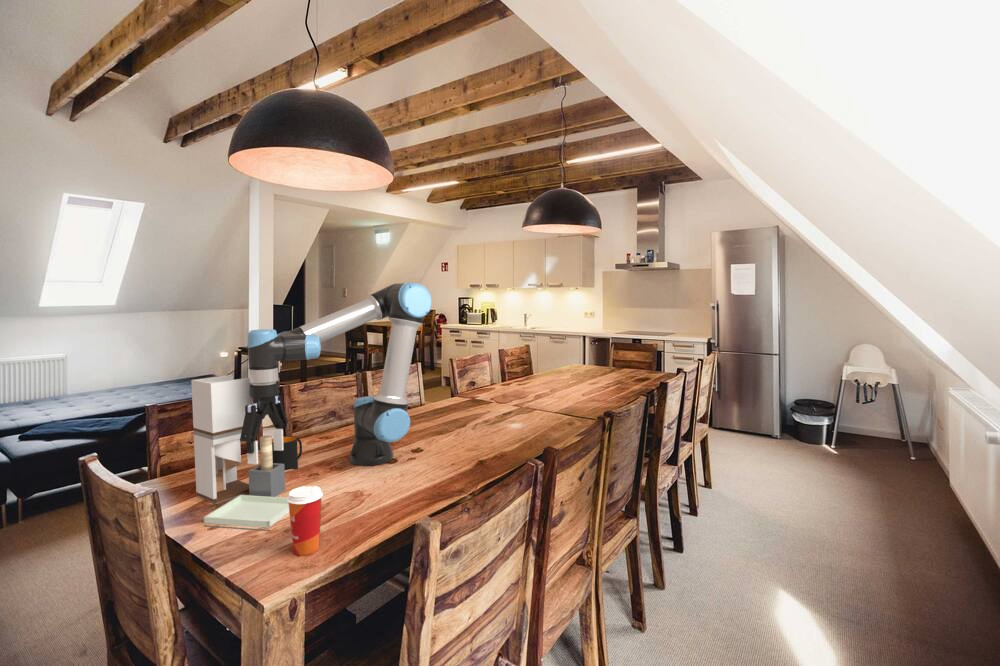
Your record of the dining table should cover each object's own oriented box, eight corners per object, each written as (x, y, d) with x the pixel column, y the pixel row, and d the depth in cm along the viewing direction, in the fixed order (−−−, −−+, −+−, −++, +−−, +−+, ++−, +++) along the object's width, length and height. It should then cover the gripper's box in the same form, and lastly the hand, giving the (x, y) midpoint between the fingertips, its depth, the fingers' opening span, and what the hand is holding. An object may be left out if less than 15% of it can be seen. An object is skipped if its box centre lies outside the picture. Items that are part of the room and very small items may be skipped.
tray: (299, 507, 133) (299, 498, 133) (269, 531, 119) (268, 521, 119) (240, 503, 135) (240, 494, 135) (203, 526, 121) (203, 517, 121)
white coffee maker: (216, 507, 133) (210, 383, 130) (196, 498, 138) (191, 380, 136) (255, 493, 142) (251, 377, 140) (235, 485, 148) (231, 374, 145)
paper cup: (295, 542, 114) (293, 485, 113) (328, 540, 114) (326, 484, 113) (283, 559, 106) (281, 499, 105) (318, 558, 107) (316, 497, 106)
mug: (311, 463, 168) (310, 434, 168) (284, 474, 157) (283, 444, 156) (292, 460, 171) (292, 432, 171) (265, 471, 160) (264, 441, 159)
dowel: (276, 491, 141) (274, 435, 140) (269, 496, 138) (267, 438, 136) (266, 491, 141) (264, 435, 140) (259, 495, 138) (257, 438, 137)
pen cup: (285, 493, 142) (284, 463, 142) (271, 502, 136) (270, 472, 135) (264, 491, 143) (263, 462, 143) (249, 501, 137) (248, 470, 136)
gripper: (276, 376, 149) (278, 443, 151) (222, 390, 126) (226, 470, 127) (298, 376, 148) (300, 444, 150) (248, 391, 125) (251, 471, 126)
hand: (266, 456), depth 139 cm, fingers open, 11 cm apart
